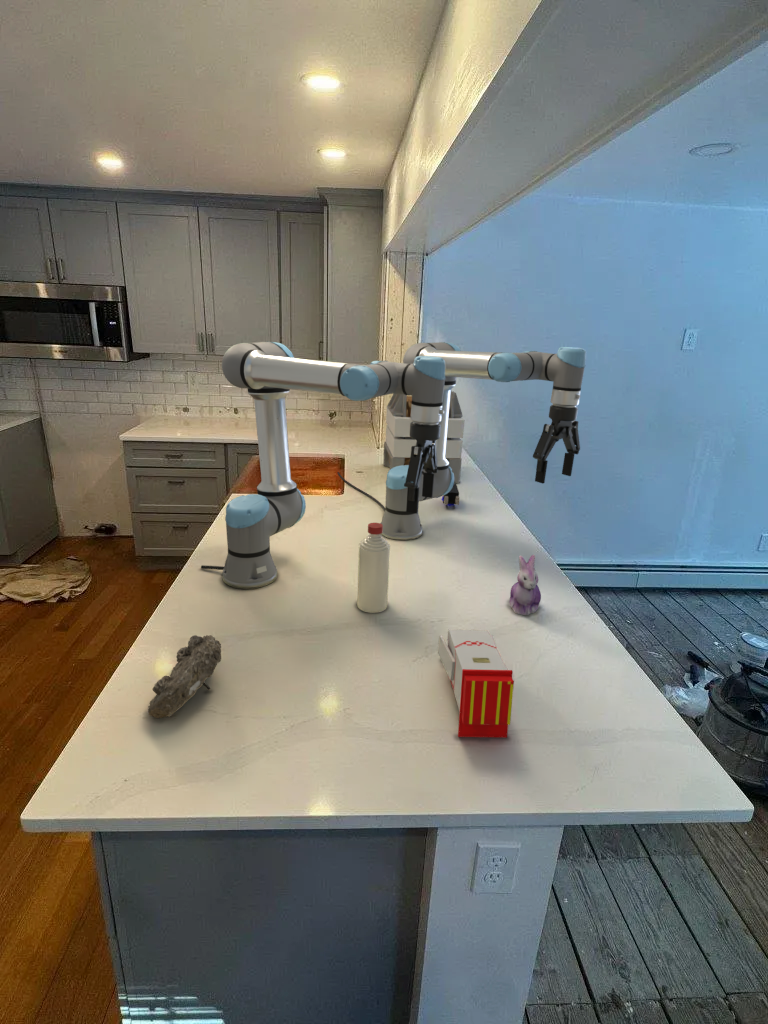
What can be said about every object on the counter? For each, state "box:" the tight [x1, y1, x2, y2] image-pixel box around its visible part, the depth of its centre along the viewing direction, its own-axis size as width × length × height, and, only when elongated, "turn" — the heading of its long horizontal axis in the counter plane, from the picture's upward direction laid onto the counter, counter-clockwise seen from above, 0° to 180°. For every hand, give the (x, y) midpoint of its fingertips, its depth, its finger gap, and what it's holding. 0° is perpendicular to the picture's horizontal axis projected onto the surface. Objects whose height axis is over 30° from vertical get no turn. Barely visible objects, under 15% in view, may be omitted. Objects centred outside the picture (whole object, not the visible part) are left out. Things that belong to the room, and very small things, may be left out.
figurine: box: [508, 554, 542, 616], centre depth 151 cm, size 9×10×15 cm
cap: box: [367, 522, 383, 535], centre depth 144 cm, size 4×4×2 cm
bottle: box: [356, 533, 391, 614], centre depth 148 cm, size 8×8×22 cm
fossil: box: [147, 634, 222, 719], centre depth 114 cm, size 22×10×15 cm
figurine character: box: [441, 483, 460, 509], centre depth 231 cm, size 7×8×15 cm
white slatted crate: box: [383, 390, 465, 484], centre depth 268 cm, size 34×33×41 cm
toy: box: [437, 628, 515, 738], centre depth 117 cm, size 12×13×30 cm
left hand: (419, 504), depth 146 cm, fingers open, 13 cm apart
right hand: (553, 478), depth 165 cm, fingers open, 13 cm apart
